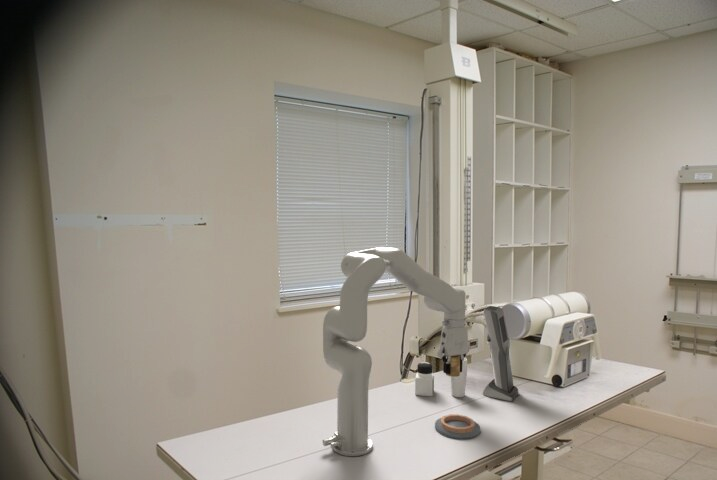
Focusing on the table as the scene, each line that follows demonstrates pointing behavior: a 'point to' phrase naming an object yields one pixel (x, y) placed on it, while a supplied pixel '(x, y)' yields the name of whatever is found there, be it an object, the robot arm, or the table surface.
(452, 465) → the table surface
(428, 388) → the medicine bottle
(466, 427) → the ring tray
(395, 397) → the table surface
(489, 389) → the thermal camera
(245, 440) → the table surface
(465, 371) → the drinking glass
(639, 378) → the table surface
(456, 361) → the wooden bead
